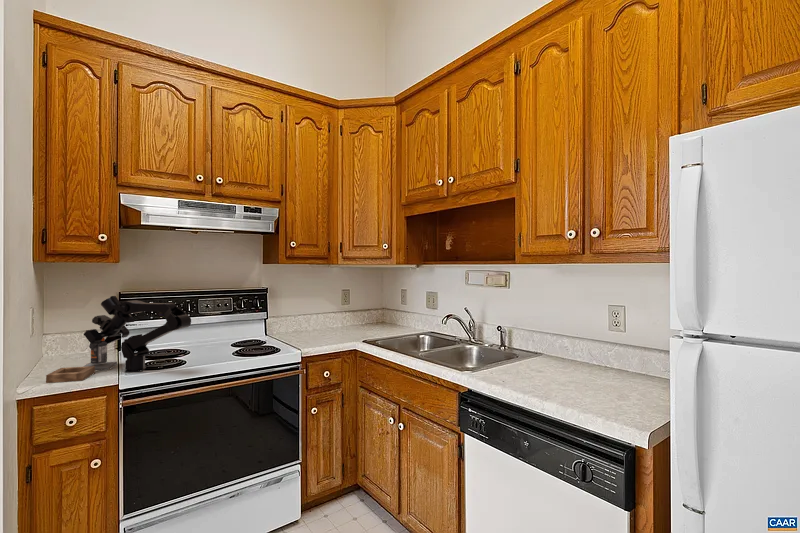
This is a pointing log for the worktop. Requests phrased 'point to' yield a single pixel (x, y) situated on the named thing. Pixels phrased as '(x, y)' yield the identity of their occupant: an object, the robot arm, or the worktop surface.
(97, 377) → the worktop surface
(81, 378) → the bottle holder
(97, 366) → the rubber mat
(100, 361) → the pill bottle
